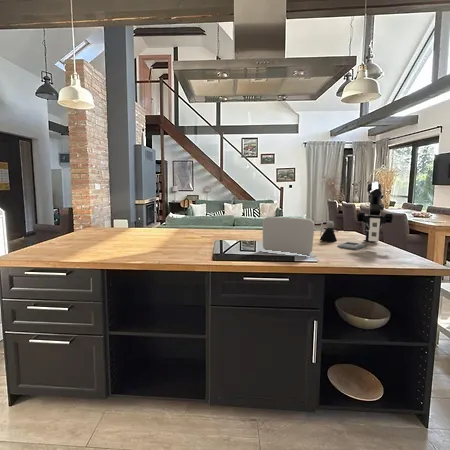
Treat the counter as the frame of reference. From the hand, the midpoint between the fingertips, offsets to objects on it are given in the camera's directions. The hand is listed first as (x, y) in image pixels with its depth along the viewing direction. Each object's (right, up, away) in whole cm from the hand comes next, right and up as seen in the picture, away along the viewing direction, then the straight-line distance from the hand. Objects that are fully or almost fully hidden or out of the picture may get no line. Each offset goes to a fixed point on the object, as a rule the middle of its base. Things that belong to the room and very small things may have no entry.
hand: (374, 228), depth 187 cm
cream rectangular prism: (0, -7, +2) cm, 7 cm away
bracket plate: (-7, -11, +14) cm, 19 cm away
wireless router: (-52, -14, -8) cm, 54 cm away
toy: (-17, -9, +30) cm, 36 cm away
